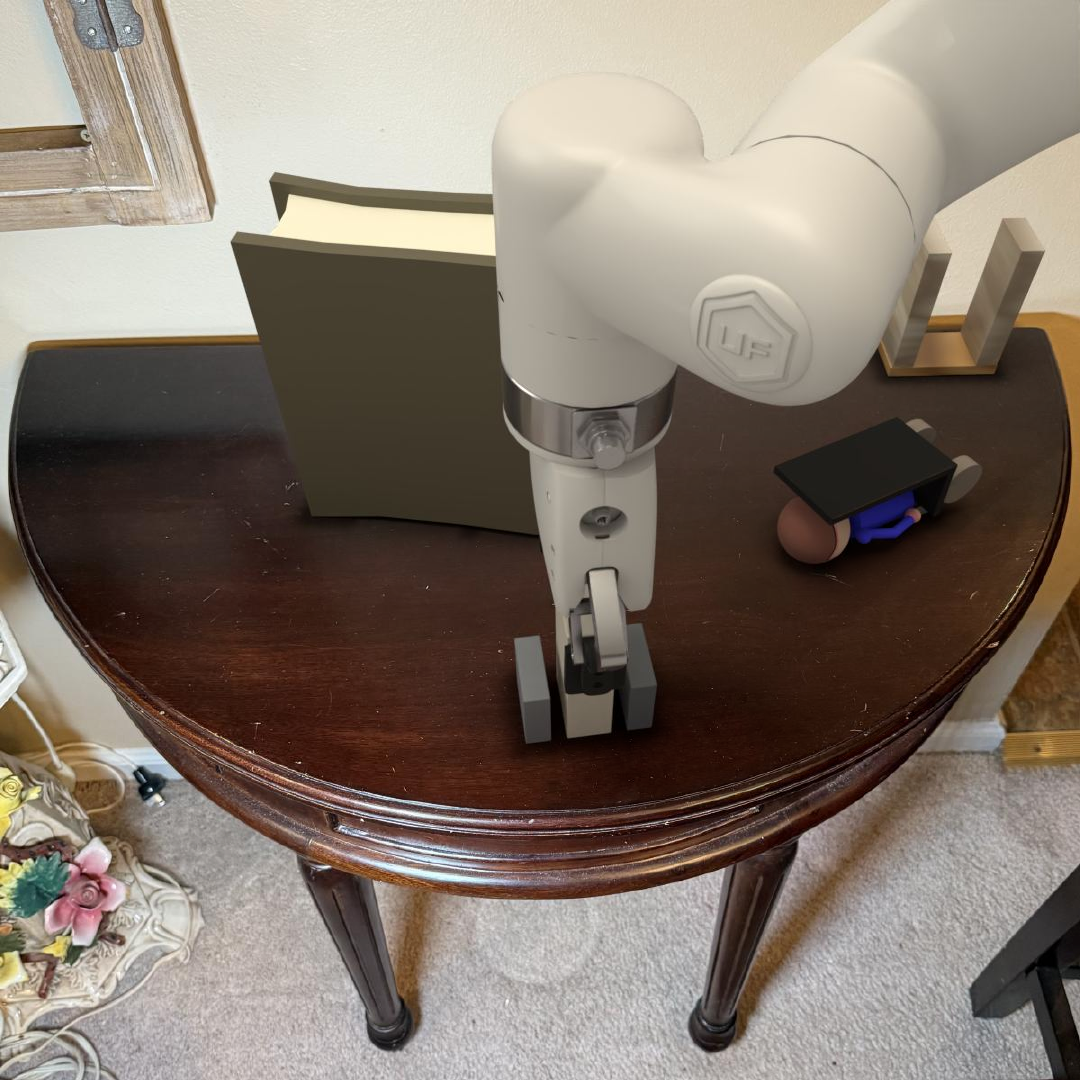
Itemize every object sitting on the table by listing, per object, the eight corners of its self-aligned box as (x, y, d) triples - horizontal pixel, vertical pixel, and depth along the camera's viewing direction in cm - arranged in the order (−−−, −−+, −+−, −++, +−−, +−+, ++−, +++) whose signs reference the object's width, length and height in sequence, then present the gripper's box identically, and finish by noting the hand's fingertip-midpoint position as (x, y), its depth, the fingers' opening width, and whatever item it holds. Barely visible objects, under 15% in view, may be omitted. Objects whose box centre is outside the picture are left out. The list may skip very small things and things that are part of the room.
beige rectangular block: (598, 671, 64) (603, 566, 56) (611, 733, 61) (618, 631, 53) (556, 677, 64) (554, 572, 56) (567, 738, 61) (567, 637, 53)
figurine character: (895, 473, 77) (748, 532, 71) (930, 397, 72) (774, 454, 66) (958, 527, 73) (808, 595, 67) (1000, 451, 68) (841, 517, 62)
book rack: (977, 340, 86) (1026, 217, 77) (994, 374, 83) (1047, 250, 74) (875, 342, 86) (911, 220, 77) (887, 376, 83) (927, 253, 74)
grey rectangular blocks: (637, 666, 64) (641, 622, 61) (651, 727, 61) (657, 684, 58) (517, 681, 64) (513, 638, 60) (525, 744, 61) (523, 702, 57)
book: (562, 465, 77) (561, 189, 59) (548, 540, 72) (542, 263, 54) (340, 444, 79) (274, 171, 61) (311, 516, 74) (230, 241, 56)
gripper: (723, 522, 37) (678, 741, 50) (634, 261, 48) (616, 497, 61) (527, 543, 37) (533, 759, 50) (483, 274, 48) (497, 509, 61)
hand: (579, 614), depth 55 cm, fingers open, 9 cm apart
